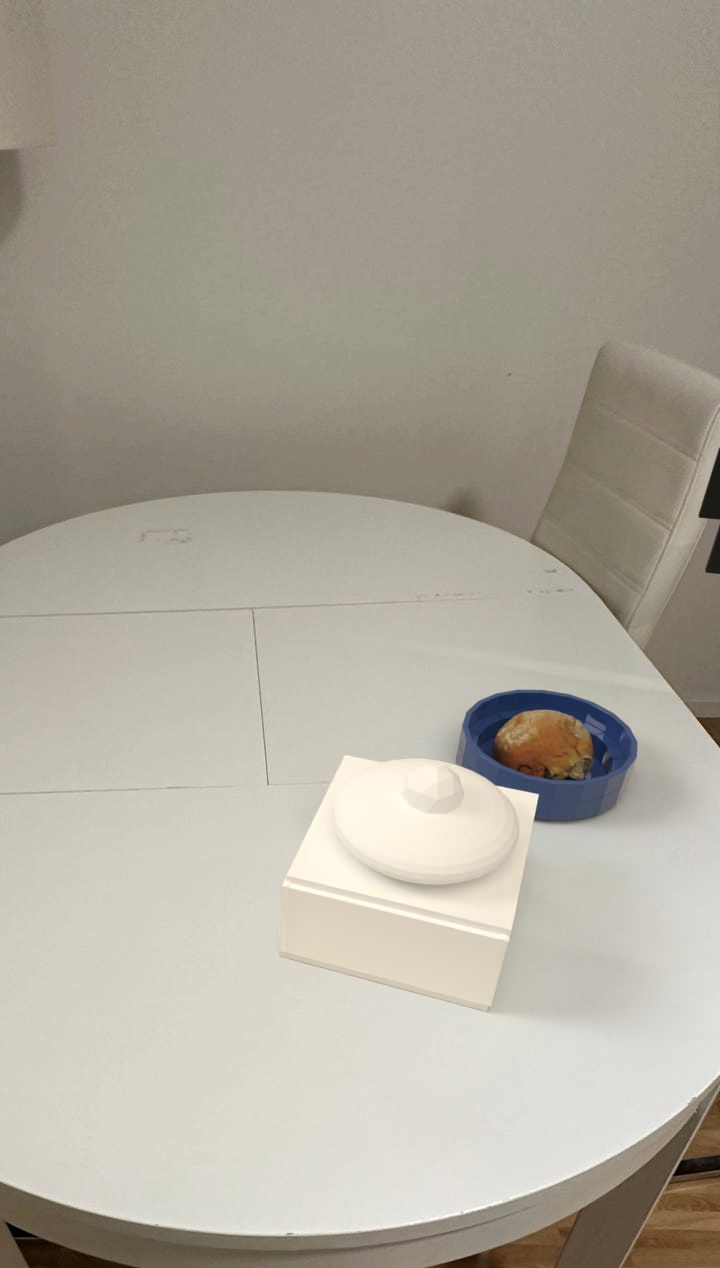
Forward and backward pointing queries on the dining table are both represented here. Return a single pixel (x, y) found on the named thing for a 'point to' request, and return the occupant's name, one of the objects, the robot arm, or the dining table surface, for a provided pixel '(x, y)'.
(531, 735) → the bread roll
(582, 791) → the bowl
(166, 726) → the dining table surface
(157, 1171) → the dining table surface
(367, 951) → the white lidded square jar
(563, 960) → the dining table surface
